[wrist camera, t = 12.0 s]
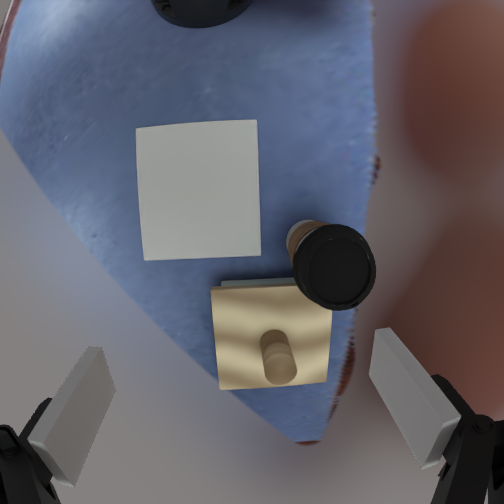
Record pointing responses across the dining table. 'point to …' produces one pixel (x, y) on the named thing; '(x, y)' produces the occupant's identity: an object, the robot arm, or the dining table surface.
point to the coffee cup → (331, 264)
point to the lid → (269, 336)
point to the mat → (199, 190)
